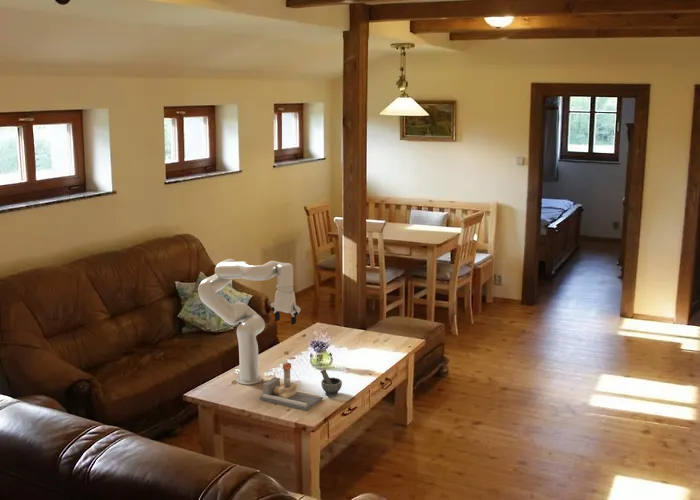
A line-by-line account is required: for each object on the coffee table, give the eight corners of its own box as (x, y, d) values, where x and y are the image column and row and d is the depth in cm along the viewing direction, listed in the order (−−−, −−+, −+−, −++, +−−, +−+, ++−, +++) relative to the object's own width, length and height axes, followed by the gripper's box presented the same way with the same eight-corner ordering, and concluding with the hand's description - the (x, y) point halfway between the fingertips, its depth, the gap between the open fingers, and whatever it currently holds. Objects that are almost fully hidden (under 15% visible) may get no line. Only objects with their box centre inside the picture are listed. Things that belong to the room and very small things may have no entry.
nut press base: (260, 400, 375) (259, 385, 373) (276, 389, 387) (276, 375, 385) (306, 410, 362) (306, 395, 361) (322, 400, 374) (321, 385, 373)
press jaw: (278, 398, 372) (278, 366, 369) (289, 391, 380) (288, 360, 376) (285, 400, 370) (285, 368, 367) (296, 393, 378) (295, 361, 375)
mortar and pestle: (345, 393, 382) (345, 370, 379) (333, 400, 374) (333, 376, 372) (327, 388, 388) (326, 365, 386) (315, 394, 381) (315, 371, 378)
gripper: (266, 287, 382) (266, 321, 386) (295, 293, 374) (295, 327, 378) (275, 284, 389) (275, 317, 392) (304, 289, 380) (304, 323, 384)
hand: (285, 322), depth 385 cm, fingers open, 9 cm apart
